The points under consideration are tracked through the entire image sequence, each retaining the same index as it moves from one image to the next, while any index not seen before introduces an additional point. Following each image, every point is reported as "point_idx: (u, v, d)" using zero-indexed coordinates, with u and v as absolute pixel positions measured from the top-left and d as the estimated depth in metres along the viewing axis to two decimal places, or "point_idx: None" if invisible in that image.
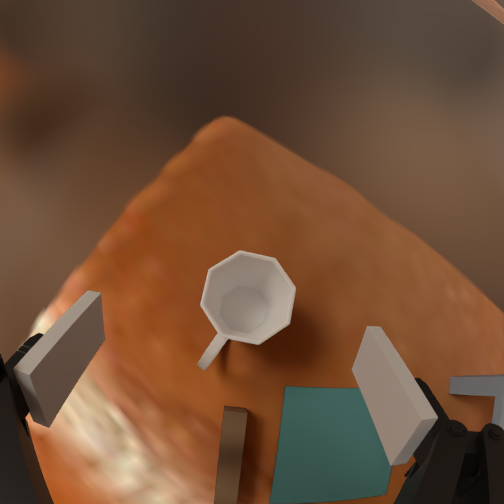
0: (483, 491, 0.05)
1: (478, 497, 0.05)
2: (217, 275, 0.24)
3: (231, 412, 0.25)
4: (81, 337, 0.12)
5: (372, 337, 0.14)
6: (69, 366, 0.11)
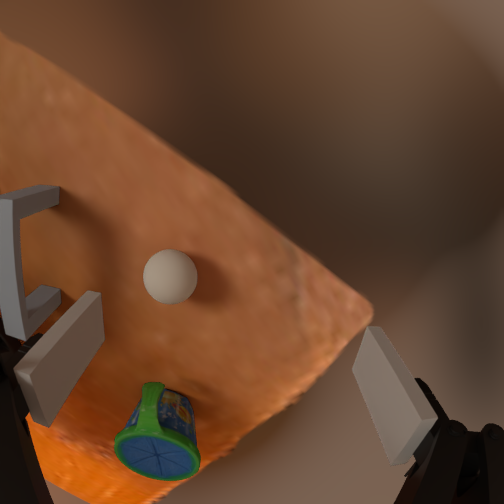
0: (483, 491, 0.05)
1: (478, 497, 0.05)
2: None
3: None
4: (81, 337, 0.12)
5: (372, 337, 0.14)
6: (69, 366, 0.11)
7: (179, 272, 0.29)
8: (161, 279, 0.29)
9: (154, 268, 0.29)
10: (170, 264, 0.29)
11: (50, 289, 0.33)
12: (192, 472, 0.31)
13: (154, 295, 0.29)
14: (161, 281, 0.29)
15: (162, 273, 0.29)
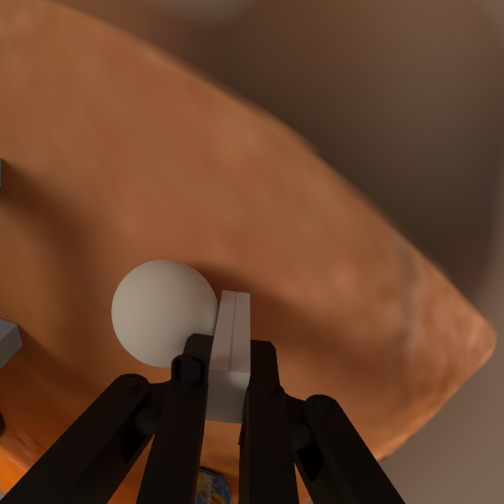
0: (337, 477, 0.07)
1: (334, 483, 0.07)
2: None
3: None
4: None
5: None
6: None
7: (165, 310, 0.13)
8: (128, 321, 0.13)
9: (121, 297, 0.14)
10: (149, 292, 0.13)
11: (3, 324, 0.19)
12: None
13: (125, 348, 0.14)
14: (128, 326, 0.13)
15: (131, 309, 0.13)
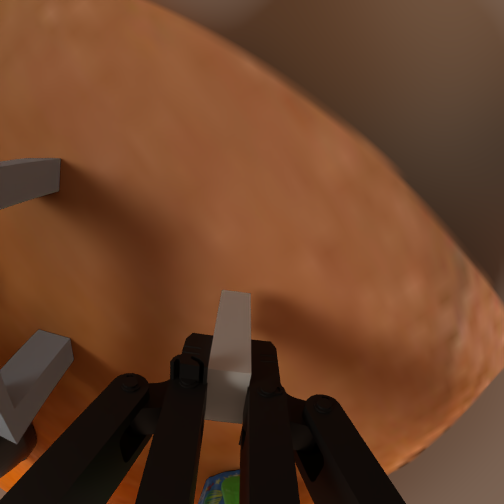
0: (338, 477, 0.07)
1: (335, 483, 0.07)
2: None
3: None
4: None
5: None
6: None
7: None
8: None
9: None
10: None
11: (53, 339, 0.19)
12: None
13: None
14: None
15: None
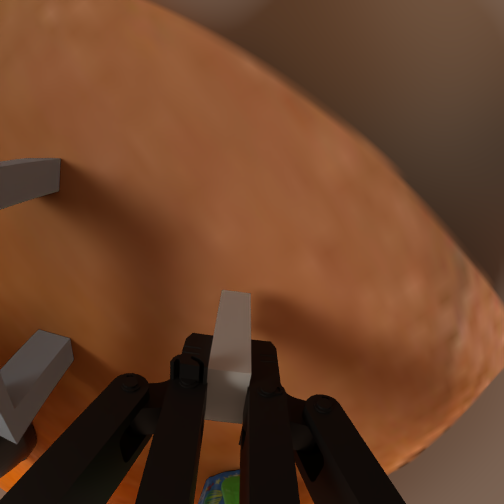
0: (338, 477, 0.07)
1: (335, 483, 0.07)
2: None
3: None
4: None
5: None
6: None
7: None
8: None
9: None
10: None
11: (53, 339, 0.19)
12: None
13: None
14: None
15: None
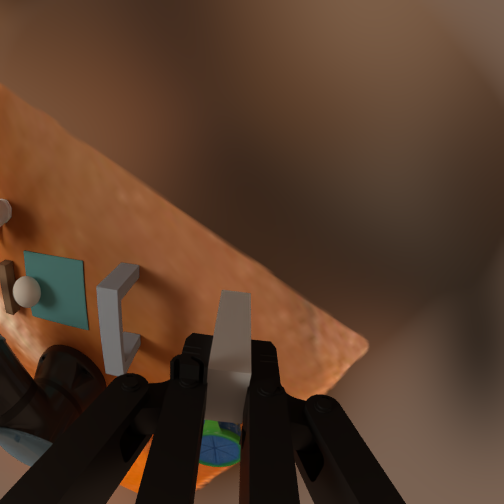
0: (338, 477, 0.07)
1: (335, 483, 0.07)
2: None
3: None
4: None
5: None
6: None
7: (22, 289, 0.42)
8: (15, 293, 0.42)
9: (14, 287, 0.42)
10: (19, 285, 0.42)
11: (132, 335, 0.49)
12: (239, 459, 0.47)
13: (16, 301, 0.43)
14: (15, 294, 0.42)
15: (16, 290, 0.42)
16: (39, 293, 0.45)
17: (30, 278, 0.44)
